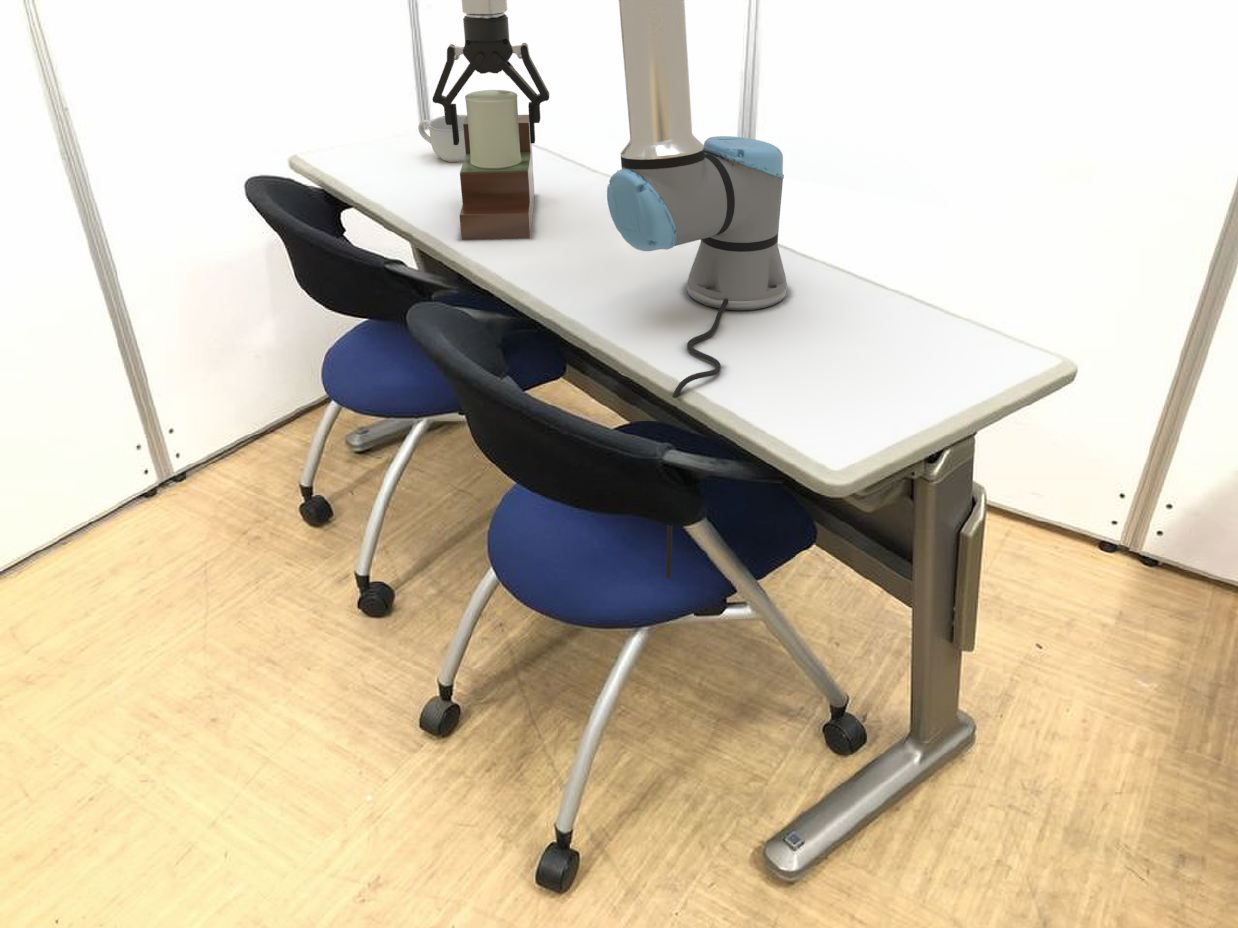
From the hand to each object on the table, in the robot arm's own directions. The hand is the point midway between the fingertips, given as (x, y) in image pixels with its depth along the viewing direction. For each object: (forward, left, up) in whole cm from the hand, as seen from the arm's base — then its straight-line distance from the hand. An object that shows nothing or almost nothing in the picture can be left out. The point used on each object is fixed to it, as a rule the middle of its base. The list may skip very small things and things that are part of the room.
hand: (494, 142), depth 187 cm
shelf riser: (0, 0, -14) cm, 14 cm away
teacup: (+40, +13, -14) cm, 44 cm away
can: (0, 0, -4) cm, 4 cm away
